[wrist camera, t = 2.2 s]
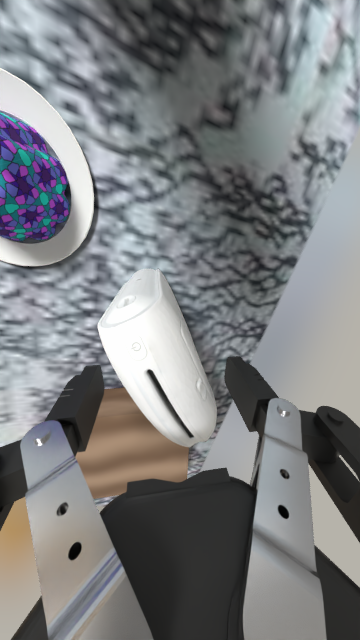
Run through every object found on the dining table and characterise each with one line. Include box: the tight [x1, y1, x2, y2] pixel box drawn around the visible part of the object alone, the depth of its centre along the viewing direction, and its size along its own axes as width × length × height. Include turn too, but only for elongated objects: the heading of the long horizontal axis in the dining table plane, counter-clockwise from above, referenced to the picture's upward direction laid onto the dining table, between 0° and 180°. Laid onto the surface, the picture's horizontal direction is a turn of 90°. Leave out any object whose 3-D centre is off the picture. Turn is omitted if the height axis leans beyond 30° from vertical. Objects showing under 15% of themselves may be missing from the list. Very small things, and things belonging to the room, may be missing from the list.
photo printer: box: [98, 269, 217, 447], centre depth 14 cm, size 10×4×12 cm, turn 22°
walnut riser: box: [75, 388, 189, 499], centre depth 25 cm, size 16×14×4 cm
